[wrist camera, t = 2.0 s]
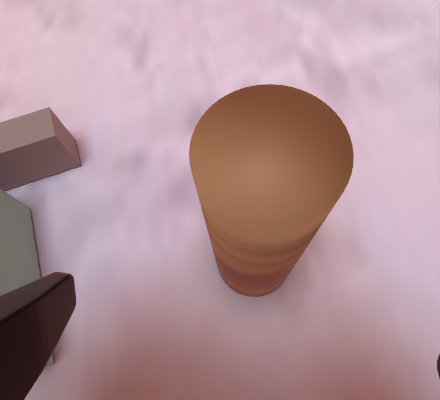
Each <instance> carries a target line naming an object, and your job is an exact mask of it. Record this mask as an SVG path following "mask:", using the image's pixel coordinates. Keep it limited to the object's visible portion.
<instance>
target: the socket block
mask: <svg viewBox="0 0 440 400" xmlns="http://www.w3.org/2000/svg"><path fill="white" fill-rule="evenodd" d="M40 278H41V276H40V270H39V264H38V257H37V251H36V245H35V238H34V232H33V225H32V219H31V213H30V208H28V207H27V206H25V205H24V204H22V203H21V202H19V201H18V200H16V199H15V198H13V197H12V196H10V195H9V194H7V193H6V192H4V191H3V190H1V189H0V296H1V295H3V294H6V293H8V292H10V291H13V290H15V289H17V288H20V287H22V286H24V285H26V284H29V283H31V282H33V281H36V280H38V279H40ZM53 363H54V359H53V353H52V355H51V357H50V358H49V360H48V362H47V364H46V366H47V365H50V364H53Z"/></svg>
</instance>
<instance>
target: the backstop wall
mask: <svg viewBox="0 0 440 400" xmlns="http://www.w3.org/2000/svg"><path fill="white" fill-rule="evenodd" d="M79 166H81V162H80V158H79V153H78V149H77V145H76V140H75V139H74V138H73V137H72V135H71V134H70V133H69V132H68V130H67V129H66V128H65V126H64V125H63V124H62V123H61V121H60V120H59V119H58V118H57V116H56V115H55V114H54V113H53V111H52V110H51V109H50V108H45V109H42V110H39V111H36V112H33V113H30V114H26V115H23V116H20V117H17V118H14V119H10V120H7V121H4V122H1V123H0V189H1V190H3V191H6V190H9V189H12V188H15V187H19V186H22V185H25V184H28V183H31V182H34V181H37V180H40V179H43V178H46V177H49V176H52V175H55V174H58V173H61V172H64V171H67V170H70V169H73V168H76V167H79Z"/></svg>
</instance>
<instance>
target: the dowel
mask: <svg viewBox="0 0 440 400" xmlns="http://www.w3.org/2000/svg"><path fill="white" fill-rule="evenodd" d="M189 158H190V166H191V170H192V175H193V178H194V182H195V185H196V189H197V193H198V196H199V200H200V204H201V207H202V211H203V214H204V218H205V222H206V225H207V229H208V233H209V236H210V240H211V244H212V247H213V251H214V254H215V258H216V262H217V265H218V269H219V272H220V275H221V276H222V278H223V280H224V281H225V283H226V284H227V285H228V286H229V287H230V288H232V289H233V290H234V291H236V292H238V293H240V294H243V295H246V296H263V295H266V294H269V293H271V292H273V291H274V290H276V289H277V288H278V287H279V286H280V285H281V284H282V283H283V282H284V280H285V279H286V277H287V276H288V274H289V273H290V271H291V270H292V268H293V267H294V265H295V264H296V262H297V261H298V259H299V258H300V256H301V255H302V253H303V252H304V250H305V249H306V247H307V246H308V244H309V243H310V241H311V240H312V238H313V237H314V235H315V234H316V232H317V231H318V229H319V228H320V226H321V225H322V223H323V222H324V220H325V219H326V217H327V216H328V214H329V213H330V211H331V210H332V208H333V207H334V205H335V204H336V202H337V201H338V199H339V198H340V196H341V195H342V193H343V192H344V190H345V188H346V186H347V184H348V182H349V179H350V176H351V173H352V168H353V148H352V143H351V139H350V136H349V133H348V131H347V129H346V127H345V125H344V124H343V122H342V120H341V119H340V118H339V116H338V115H337V114H336V113H335V112H334V111H333V110H332V109H331V108H330V107H329V106H328V105H327V104H326V103H324V102H323V101H322V100H320V99H319V98H317V97H315V96H313V95H312V94H309V93H307V92H305V91H303V90H300V89H296V88H293V87H288V86H284V85H256V86H250V87H246V88H242V89H240V90H237V91H234V92H232V93H230V94H228V95H226V96H224V97H223V98H221V99H220V100H218V101H217V102H216V103H214V104H213V105H212V106H211V107H210V108H209V109H208V110H207V111H206V112H205V113H204V114H203V116H202V117H201V119H200V120H199V122H198V123H197V125H196V127H195V129H194V132H193V135H192V138H191V143H190V151H189Z"/></svg>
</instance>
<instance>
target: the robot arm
mask: <svg viewBox="0 0 440 400" xmlns="http://www.w3.org/2000/svg"><path fill="white" fill-rule="evenodd" d="M75 306H76V294H75V285H74V278H73V276H72V275H71V274H68V273H62V272H54V273H52V274H50V275H47V276H45V277H43V278H40V279H38V280H36V281H33V282H31V283H29V284H26V285H24V286H22V287H20V288H17V289H15V290H13V291H10V292H8V293H6V294H3V295H1V296H0V400H24V399H25V397H26V396H27V394H28V393H29V391H30V390H31V388H32V386H33V385H34V383H35V382H36V380H37V379H38V377H39V375H40V374H41V372H42V371H43V369H44V367H45V366H46V364H47V362H48V360H49V358H50V357H51V355H52V353H53V351H54V349H55V347H56V345H57V343H58V341H59V339H60V337H61V335H62V333H63V331H64V329H65V327H66V325H67V323H68V321H69V319H70V317H71V315H72V313H73V311H74V309H75ZM437 370H438V374H439V378H440V355H439V357H438V360H437Z"/></svg>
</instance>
